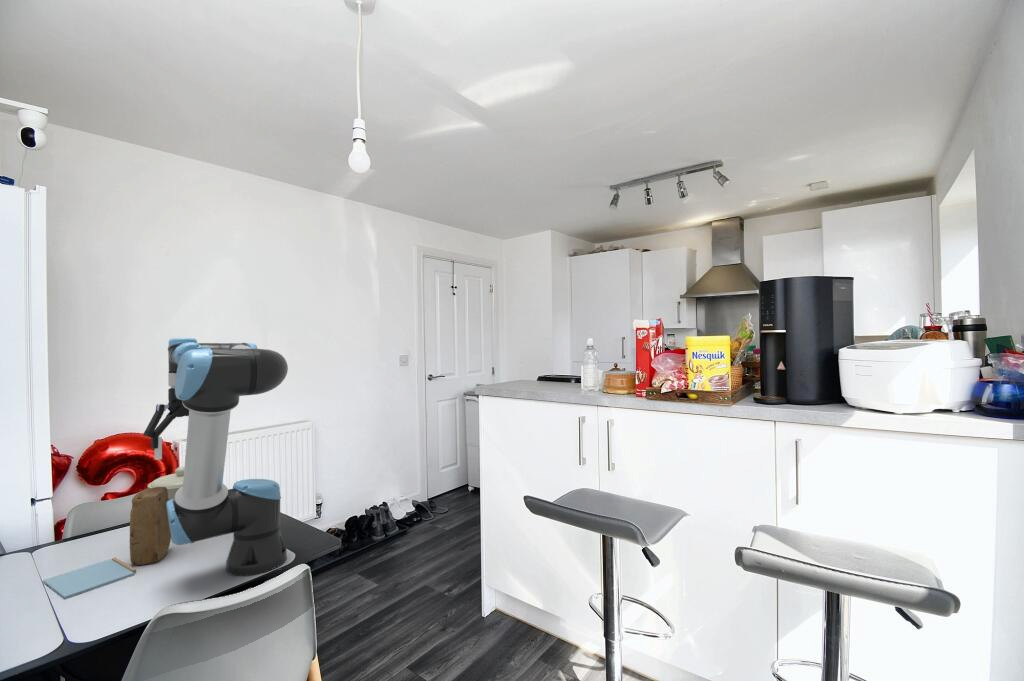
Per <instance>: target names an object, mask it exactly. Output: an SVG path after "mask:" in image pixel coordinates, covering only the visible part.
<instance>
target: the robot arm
mask: <svg viewBox="0 0 1024 681" xmlns="http://www.w3.org/2000/svg"><path fill="white" fill-rule="evenodd" d="M167 351H168V352H167V353H168V373H167V375H168V377H167V379H168V382H167V385H168V387H170V388H168V391H167V392H168V393H167V395H168V397H167V400H168V403H167V404H163V403H158V404H156V405H155V412H154V414H153V415H152V418H151V419H150V421H149V422H148V424H147V426H146V428H145V430H144V432H143V436H144V437H149V438H150V447H151V449H153V450H154V460H163V438H162V437H161V436H160V435H161V434H162V433H163V432H164V431H165V430H166V428H167V427H168V426H170V424H171V423H172V422H173V421H174V420H175V419H176V418H183V417H188V420H187V421H188V422H187V430H186V431H187V433H186V434H187V435H186V442H185V443H186V444H185V457H184V466H183V467H184V479H183V486H182V487H181V488H179V489H178V490H177V492H176V494H175V499H171V500H169V501H168V502H167V503H166V507H167V515H168V521H169V528H170V534H171V538H170V540H171V542H172V543H173V545H176V546H182V545H188V544H195V543H197V542H201V541H204V540H208V539H212V538H216V537H221V536H225V535H229V534H233V540H232V543H231V546H230V549H229V551H228V556H227V557H226V562H225V570H226V572H227V573H228V574H230V575H233V576H252V575H258V574H262V573H265V571H266V572H268V571H267V570H269V571H271V570H273V569H272V568H274V567H276V568H278V567H279V566H281V565H282V564H284V563H285V562H286V560H287V557H288V555H287V554H288V551H287V550H288V549H287V547H286V544H285V542H284V538H283V536H282V533H281V499H282V498H281V497H282V496H281V488H280V487H281V486H280V484H279V482H276V481H275V480H272V479H265V478H248V479H241V480H237V481H235V482H234V484H233V486H232V488H230V489H228V487H227V486H226V484H224V473H225V463H226V455H227V448H228V447H227V445H228V440H229V439H228V438H229V427H230V419H231V411H232V410H233V409H235V408H236V407H238V405H239V402H240V397H242V396H243V397H244V396H254V395H255V396H257V395H261V394H264V393H268V392H270V391H273V390H274V389H276V388H277V387H278V386H280V385H281V384H282V382H284V380H285V379H286V377H287V374H288V373H289V372H288V371H289V367H288V363H287V360H286V358H285V357H284V356H283V355H282V354H281V353H279V352H277V351H275V350H271V349H263V348H258V346H257V345H256V343H252V342H250V343H249V342H238V343H237V342H236V343H235V342H234V343H233V342H229V343H223V342H222V343H220V342H219V343H218V342H201V343H200V342H198V340H197V339H196V338H193V337H174V338H173V337H172V338H170V339H168V347H167ZM166 410H168V411H169V412H168V413H167V414H166V416H165V417H164V418H163V420H162V421H161V419H162V417H163V415H164V414H165V412H166ZM284 561H285V562H284ZM283 562H284V563H283ZM278 565H279V566H278ZM277 566H278V567H277ZM270 569H271V570H270ZM274 569H275V568H274ZM261 572H262V573H261Z"/></svg>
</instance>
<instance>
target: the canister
mask: <svg viewBox="0 0 1024 681" xmlns="http://www.w3.org/2000/svg"><path fill="white" fill-rule="evenodd" d="M184 467H185V466H179V467H177V468H175V471H174V473H171V474H168V475H162V476H160V477H158V478H156V479H154V480H153V481H152V482H149V483H148V484H147V488H155V487H166V488H167V491H168V498H169V500H171V499H175V494H176V492H177V490H178V489H179V488H181V487H182V486H183V479H184Z"/></svg>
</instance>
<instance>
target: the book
mask: <svg viewBox="0 0 1024 681" xmlns="http://www.w3.org/2000/svg"><path fill="white" fill-rule="evenodd" d="M135 574H137V569H136V568H134V567H133V566H131V565H129V564H128V563H126V562H124V561H122V560H121V559H118V558H117V557H112V558H111V559H110V558H109V559H106V560H104V561H100V562H97V563H94V564H91V565H87V566H84V567H81V568H77V569H75V570H71V571H67V572H64V573H60V574H57V575H55V576H52V577H49V578H45V579H43V580H42V583H43V582H44V583H46V584H47V585H48V586H49V587H48V586H47V585H46V584H45V585H46V586H47V587H48V588H49V589H51V588H52V589H53V590H54V591H53V590H52V589H51V590H52V591H53V592H55V593H56V594H57V593H58V594H59V595H58V594H57V595H58V596H59V597H61V598H62V599H63V600H66V599H69V597H70V598H72V596H73V597H75V596H78V595H81V594H83V593H84V594H85V593H87V592H89V591H90V592H91V591H92V590H95V588H96V589H98V588H100V587H104V586H107V585H110V584H113V583H116V582H119V581H121V580H124V579H126V578H129V577H133V576H135ZM44 583H43V584H44Z"/></svg>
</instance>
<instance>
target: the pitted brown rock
mask: <svg viewBox="0 0 1024 681" xmlns="http://www.w3.org/2000/svg"><path fill="white" fill-rule="evenodd" d="M168 501H169V498H168V491H167V488H166V487H155V488H148V487H147V488H144V489H142V490H141V491H139V492H137V493H136V494H135V495H134V496H133V497H132V499H131V510H130V516H129V517H130V518H129V560H130V563H131V564H132V565H135V566H137V565H138V566H140V565H141V566H143V565H144V566H145V565H149V564H154V563H156V562H159V561H160V560H162V559H164V558H165V557H166V555H167V553H168V550H169V547H170V545H171V544H170V543H171V534H170V528H169V521H168V515H167V507H166V503H167V502H168Z"/></svg>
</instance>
